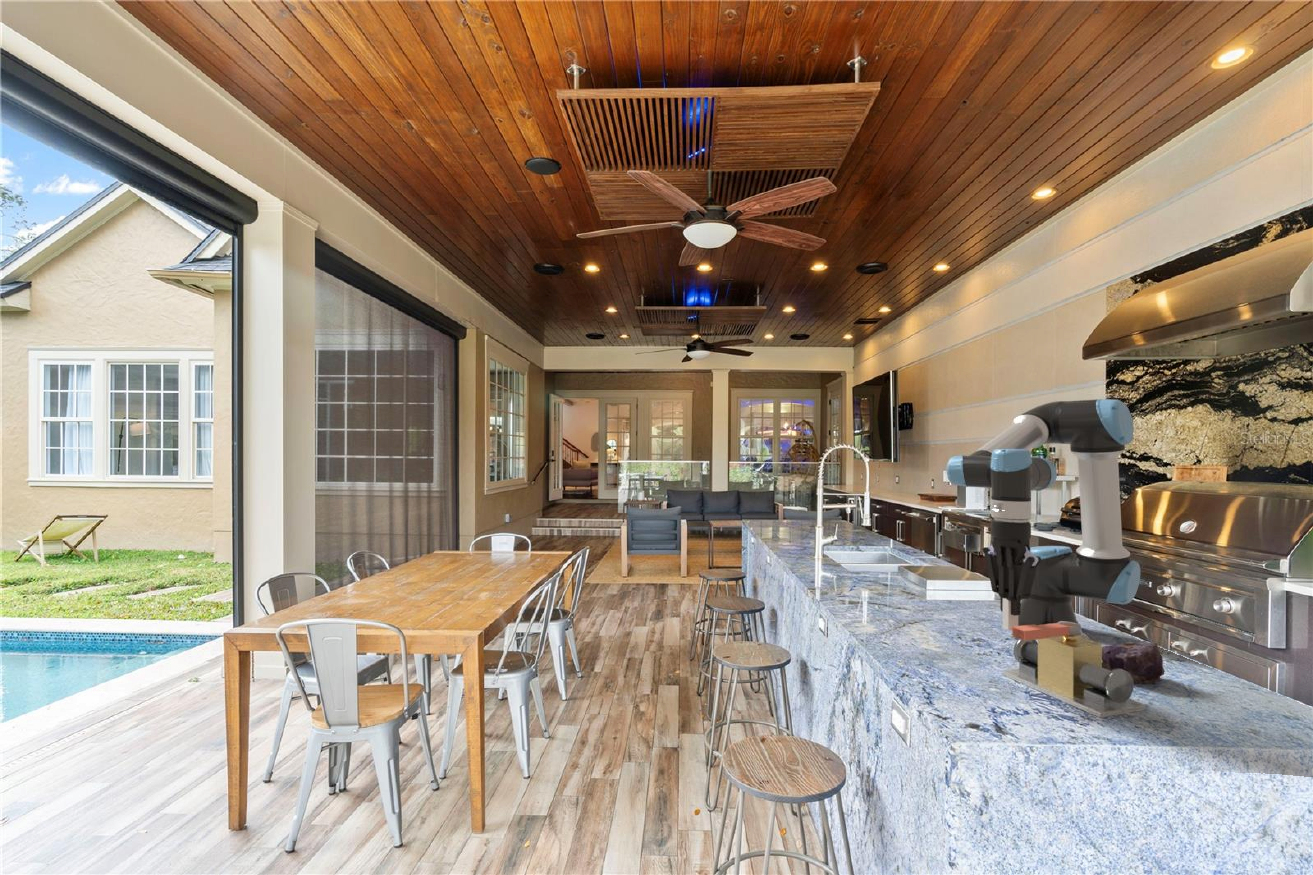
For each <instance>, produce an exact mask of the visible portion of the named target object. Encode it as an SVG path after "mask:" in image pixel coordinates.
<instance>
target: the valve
mask: <svg viewBox="0 0 1313 875" xmlns="http://www.w3.org/2000/svg"><path fill="white" fill-rule="evenodd" d="M1102 647H1103V643H1100V642H1099V641H1094V640H1091V639H1090V640H1088V639H1085V638H1082V637H1079V636H1074V635H1066V636H1058V637H1049V638H1045V639H1036V640H1028V641H1024V640H1021V639H1018V638H1017V640H1016V641H1015V643H1014V645H1013V656H1014V659H1015V661H1016V662H1017V663H1018V667H1019V668H1012V669H1005V670H1003V672H1002V675H1003V676H1004V677H1006V678H1009V679H1011V680H1013V681H1016V682H1019V683H1020V684H1022V685H1025V686H1028V687H1029V688H1032V689H1034V690H1036V691H1039V692H1041V693H1043V694H1045V695H1047V696H1050V697H1052V698H1054V699H1057V700H1059V701H1062V702H1064V703H1066V704H1068V705H1070V706H1073V707H1075V708H1077V709H1080V710H1081V711H1084V712H1086V713H1088V714H1091V715H1093V716H1095V717H1097V718H1100V719H1101V718H1108V717H1111V716H1118V715H1119V716H1120V715H1124V714H1125V715H1126V714H1130V713H1135V712H1140V711H1145V710H1146V709H1145V708H1146V706H1145V704H1143V703H1142V702H1139V701H1137V700H1135V699H1131V696H1132V694H1133V692H1134V684H1135V683H1134V682H1133V678H1132V676H1131V674H1130V673H1129V672H1127V671H1125V670H1122V669H1119V668H1117V669H1114V670H1112V671H1110V670H1107V669H1105V668H1102Z"/></svg>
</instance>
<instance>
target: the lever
mask: <svg viewBox="0 0 1313 875" xmlns="http://www.w3.org/2000/svg"><path fill="white" fill-rule="evenodd" d="M1081 631H1082V626H1081V624H1079V623H1078V624H1077V623H1073V622H1067V621H1059V622H1058V623H1053V624H1044V625H1035V624H1032V625H1023V626H1014V627H1012V630H1011V633H1012V634H1011V636H1012V637H1013V638H1017V640H1018V639H1021V640H1024V641H1028V640H1036V641H1037V640H1038V639H1045V638H1049V637H1058V636H1066V635H1074V636H1077V635H1081Z"/></svg>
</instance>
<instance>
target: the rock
mask: <svg viewBox="0 0 1313 875" xmlns="http://www.w3.org/2000/svg"><path fill="white" fill-rule="evenodd" d="M1159 648H1160V647H1159V646H1158V643H1157V642H1155V641H1151V642H1150V641H1149V642H1123V643H1119V644H1113V643H1112V644H1111V645H1102V668H1105V669H1107V670H1110V671H1112V670H1114V669H1117V668H1119V669H1122V670H1125V671H1127V672H1129V673H1130V674H1131V676H1132V678H1133V683H1134V684H1142V685H1147V684H1152V683H1153V682H1159V681H1161V677H1162V676H1164V674H1165V669H1164V666H1163V664H1164V660H1163V658H1164V657H1163V655H1162V653H1161V650H1160V649H1159Z"/></svg>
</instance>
